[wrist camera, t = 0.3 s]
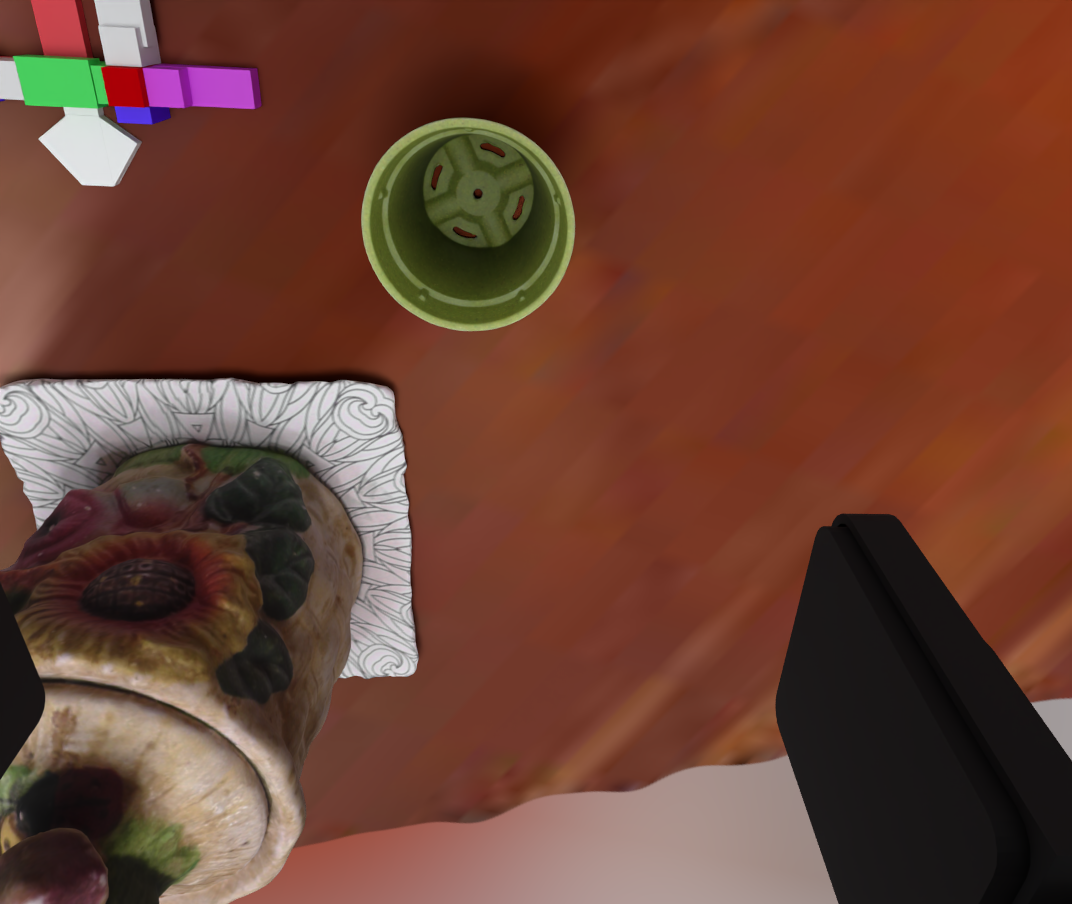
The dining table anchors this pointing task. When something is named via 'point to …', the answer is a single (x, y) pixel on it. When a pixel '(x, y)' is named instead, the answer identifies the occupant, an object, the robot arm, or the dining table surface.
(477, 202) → the plant pot
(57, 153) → the building block set
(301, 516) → the cookie jar
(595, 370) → the dining table surface
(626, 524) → the dining table surface
